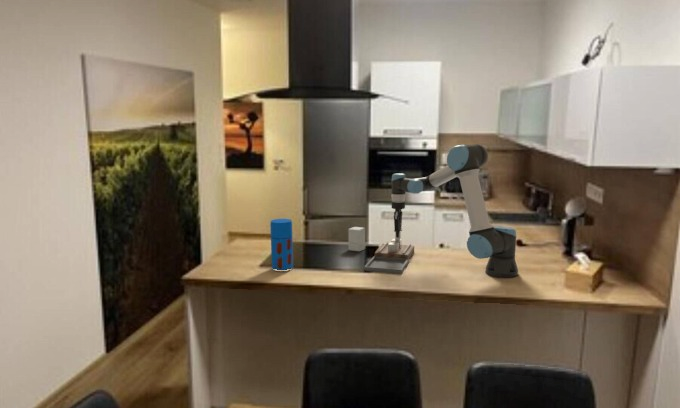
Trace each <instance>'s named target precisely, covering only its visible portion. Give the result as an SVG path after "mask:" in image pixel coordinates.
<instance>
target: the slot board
mask: <svg viewBox="0 0 680 408" xmlns="http://www.w3.org/2000/svg"><path fill="white" fill-rule="evenodd" d="M388 244H389V241H387V242H385V243H382V244H381V245H380V246H379V248H377V249H376V250H375V252H374V256H376V257H389V258H402V259H409V261H410V260H411V259H412V257H413V255H414V254H413V253H415V245H412V244H411V243H408V244H407V245H406V244H402V247H401V248H400V249H399V251H398V252H388Z"/></svg>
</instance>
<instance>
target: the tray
mask: <svg viewBox="0 0 680 408" xmlns="http://www.w3.org/2000/svg"><path fill="white" fill-rule="evenodd" d="M409 261H410V260H409V259H402V258H389V257H376V256H375V255H374V256H372V258H371V259H370V260H368V261H367V263H366V264H365V265H364V267H363V271H365V272H372V273H373V272H375V273H388V274H398V275H402V274H403V273H404V271H405V269H406V267H407V266H408V264H409Z"/></svg>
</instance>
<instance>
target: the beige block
mask: <svg viewBox="0 0 680 408" xmlns="http://www.w3.org/2000/svg"><path fill="white" fill-rule="evenodd" d="M398 251H399V243H392V242H391V241H390V242H388V252H398Z"/></svg>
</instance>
